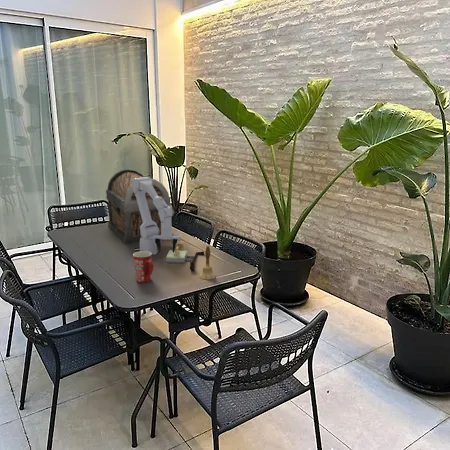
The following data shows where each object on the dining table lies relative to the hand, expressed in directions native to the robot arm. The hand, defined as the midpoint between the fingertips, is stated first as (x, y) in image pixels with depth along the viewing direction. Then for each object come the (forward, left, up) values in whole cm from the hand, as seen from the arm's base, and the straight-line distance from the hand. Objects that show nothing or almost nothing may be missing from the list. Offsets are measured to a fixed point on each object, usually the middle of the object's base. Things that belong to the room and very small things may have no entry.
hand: (166, 251), depth 233 cm
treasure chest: (-28, +51, -4) cm, 58 cm away
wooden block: (+6, +10, -4) cm, 12 cm away
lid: (+6, 0, -2) cm, 6 cm away
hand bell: (+25, -24, -4) cm, 35 cm away
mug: (-5, -32, -4) cm, 33 cm away
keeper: (+13, 0, -4) cm, 14 cm away
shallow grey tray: (+6, 0, -4) cm, 7 cm away
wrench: (+18, -5, -5) cm, 19 cm away
